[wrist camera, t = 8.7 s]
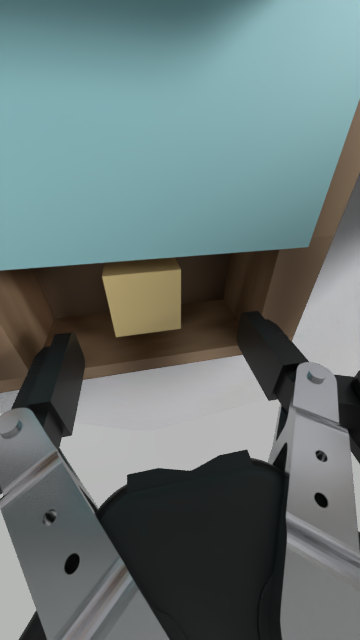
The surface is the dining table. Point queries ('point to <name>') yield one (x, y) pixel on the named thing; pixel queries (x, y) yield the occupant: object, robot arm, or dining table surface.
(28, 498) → the robot arm
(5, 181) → the sliding lid
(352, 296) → the dining table surface
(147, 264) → the ochre block
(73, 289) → the wooden box
